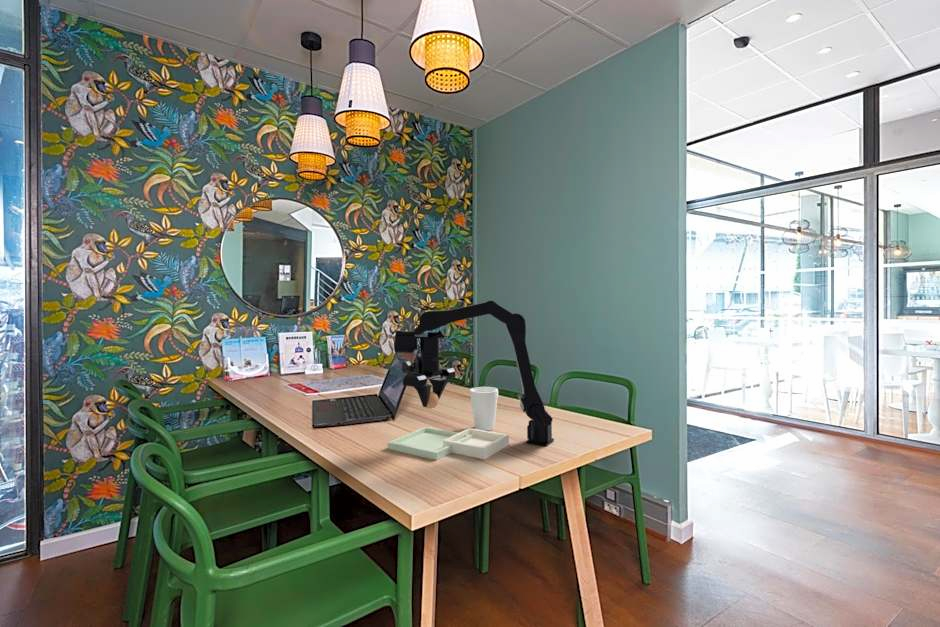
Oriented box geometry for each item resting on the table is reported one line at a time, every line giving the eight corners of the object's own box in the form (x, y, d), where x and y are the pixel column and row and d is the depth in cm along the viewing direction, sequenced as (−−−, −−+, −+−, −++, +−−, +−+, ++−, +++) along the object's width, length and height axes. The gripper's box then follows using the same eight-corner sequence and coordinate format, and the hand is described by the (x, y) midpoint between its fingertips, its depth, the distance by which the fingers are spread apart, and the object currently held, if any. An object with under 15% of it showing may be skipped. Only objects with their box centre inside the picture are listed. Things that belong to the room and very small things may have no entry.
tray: (472, 441, 138) (472, 435, 137) (436, 460, 122) (436, 452, 122) (425, 432, 147) (425, 426, 147) (387, 448, 132) (387, 442, 132)
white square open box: (508, 444, 134) (508, 434, 134) (484, 459, 122) (484, 448, 122) (469, 437, 142) (469, 427, 142) (443, 450, 130) (443, 440, 130)
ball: (442, 407, 135) (441, 391, 135) (431, 411, 131) (431, 394, 131) (428, 405, 138) (428, 389, 138) (418, 409, 134) (418, 392, 133)
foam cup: (465, 430, 150) (465, 391, 149) (478, 422, 158) (477, 386, 157) (491, 433, 145) (491, 393, 145) (503, 426, 153) (502, 388, 153)
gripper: (427, 348, 146) (428, 396, 146) (387, 354, 130) (388, 408, 131) (456, 350, 140) (456, 400, 140) (417, 357, 124) (418, 413, 125)
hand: (430, 405), depth 134 cm, fingers closed on ball, 5 cm apart
